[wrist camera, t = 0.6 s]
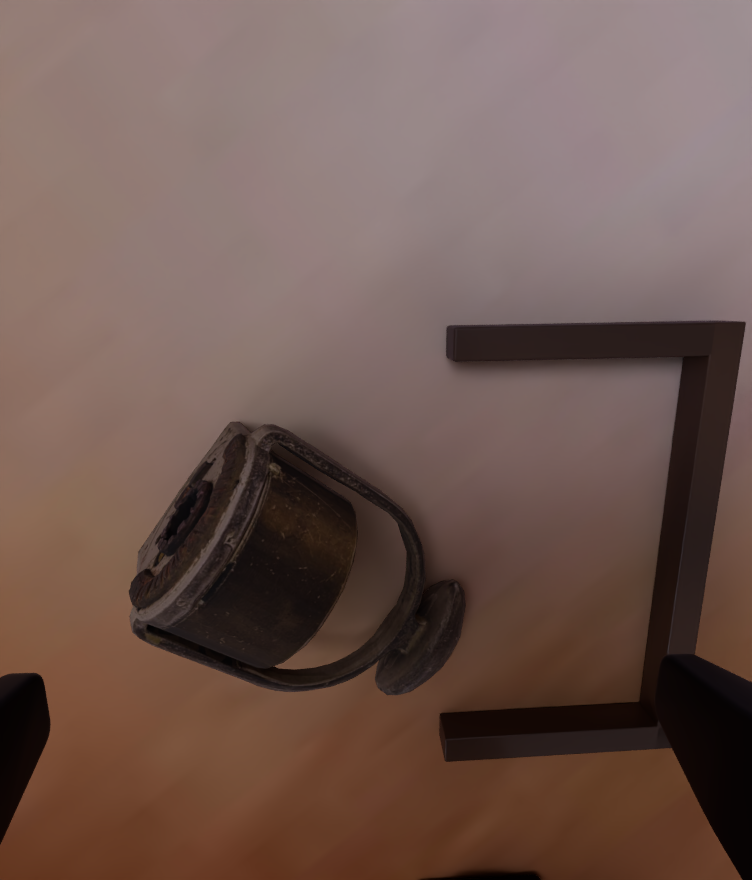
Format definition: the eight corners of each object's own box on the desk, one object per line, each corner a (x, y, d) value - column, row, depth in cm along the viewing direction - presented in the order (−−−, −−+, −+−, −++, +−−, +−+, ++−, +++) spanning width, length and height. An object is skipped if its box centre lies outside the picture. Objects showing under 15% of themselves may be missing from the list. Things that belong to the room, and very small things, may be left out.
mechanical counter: (345, 346, 14) (3, 554, 13) (564, 708, 16) (286, 923, 15) (320, 367, 21) (96, 504, 20) (475, 618, 23) (280, 759, 22)
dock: (661, 722, 25) (680, 747, 23) (439, 735, 24) (445, 762, 23) (718, 320, 20) (746, 321, 19) (446, 325, 20) (454, 327, 18)
